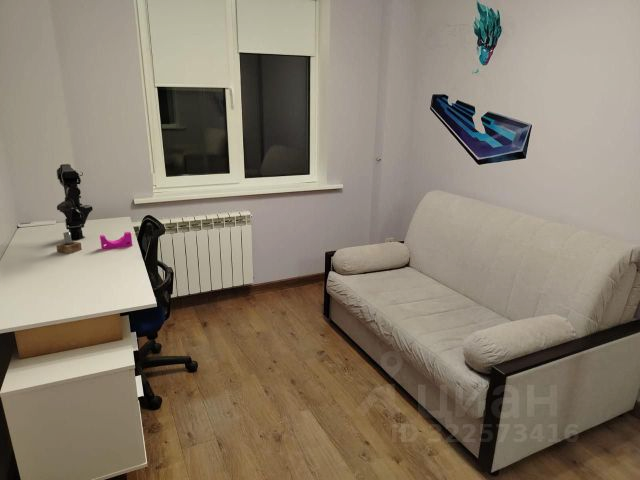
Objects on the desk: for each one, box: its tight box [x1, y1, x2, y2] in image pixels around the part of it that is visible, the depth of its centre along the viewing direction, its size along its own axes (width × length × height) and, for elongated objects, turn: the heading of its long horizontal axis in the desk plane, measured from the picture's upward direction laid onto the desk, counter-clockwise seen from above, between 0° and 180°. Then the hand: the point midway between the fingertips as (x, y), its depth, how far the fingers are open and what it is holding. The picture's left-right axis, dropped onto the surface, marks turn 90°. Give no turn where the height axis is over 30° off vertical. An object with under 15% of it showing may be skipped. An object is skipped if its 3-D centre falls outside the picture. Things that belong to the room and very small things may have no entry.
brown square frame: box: [55, 241, 83, 255], centre depth 233 cm, size 8×8×4 cm
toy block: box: [99, 231, 133, 251], centre depth 241 cm, size 15×6×8 cm, turn 123°
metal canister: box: [63, 231, 73, 245], centre depth 232 cm, size 3×3×10 cm
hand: (77, 223), depth 238 cm, fingers open, 9 cm apart
